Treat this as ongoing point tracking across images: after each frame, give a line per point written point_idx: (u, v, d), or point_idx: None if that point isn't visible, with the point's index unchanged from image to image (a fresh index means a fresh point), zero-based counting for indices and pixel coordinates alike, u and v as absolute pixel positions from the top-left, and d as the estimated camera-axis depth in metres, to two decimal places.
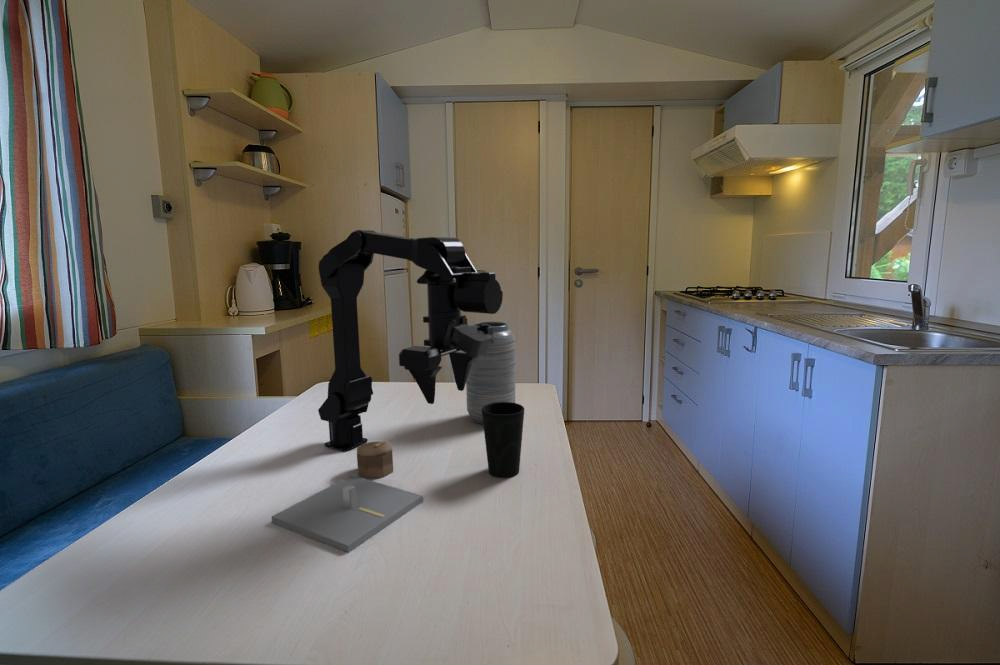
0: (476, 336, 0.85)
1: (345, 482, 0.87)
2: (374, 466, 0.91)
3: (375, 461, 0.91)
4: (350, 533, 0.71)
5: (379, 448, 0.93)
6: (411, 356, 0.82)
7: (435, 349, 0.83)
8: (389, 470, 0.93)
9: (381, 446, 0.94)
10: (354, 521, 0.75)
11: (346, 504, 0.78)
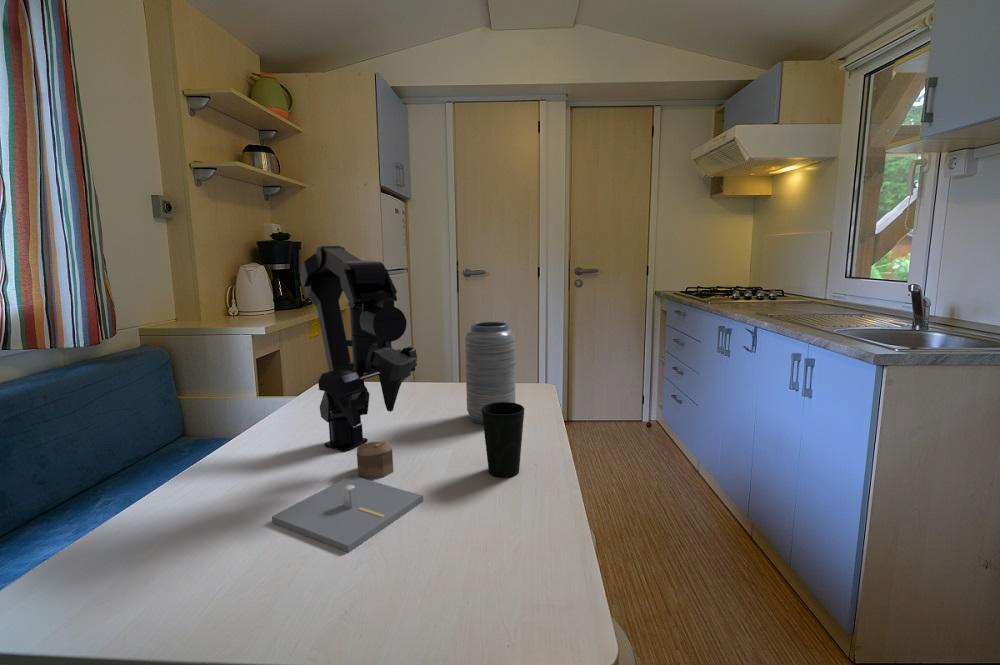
0: (396, 360, 0.86)
1: (345, 482, 0.87)
2: (374, 466, 0.91)
3: (375, 461, 0.91)
4: (350, 533, 0.71)
5: (379, 448, 0.93)
6: (329, 380, 0.83)
7: (354, 373, 0.85)
8: (389, 470, 0.93)
9: (381, 446, 0.94)
10: (354, 521, 0.75)
11: (346, 504, 0.78)
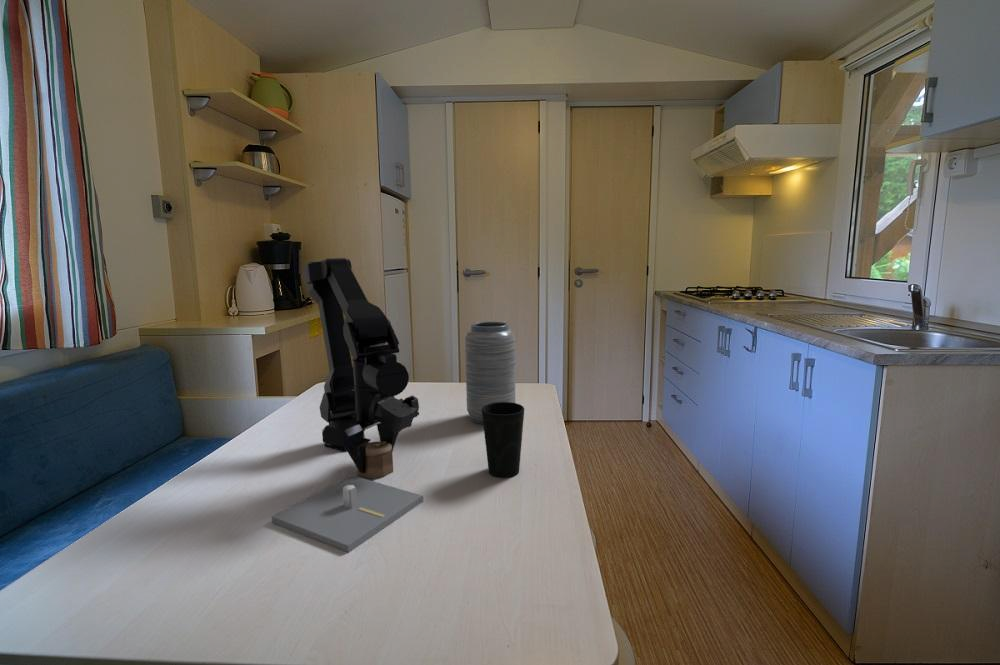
0: (398, 411, 0.88)
1: (345, 482, 0.87)
2: (374, 466, 0.91)
3: (375, 461, 0.91)
4: (350, 533, 0.71)
5: (379, 448, 0.93)
6: (333, 433, 0.84)
7: (357, 425, 0.86)
8: (389, 470, 0.93)
9: (381, 446, 0.94)
10: (354, 521, 0.75)
11: (346, 504, 0.78)
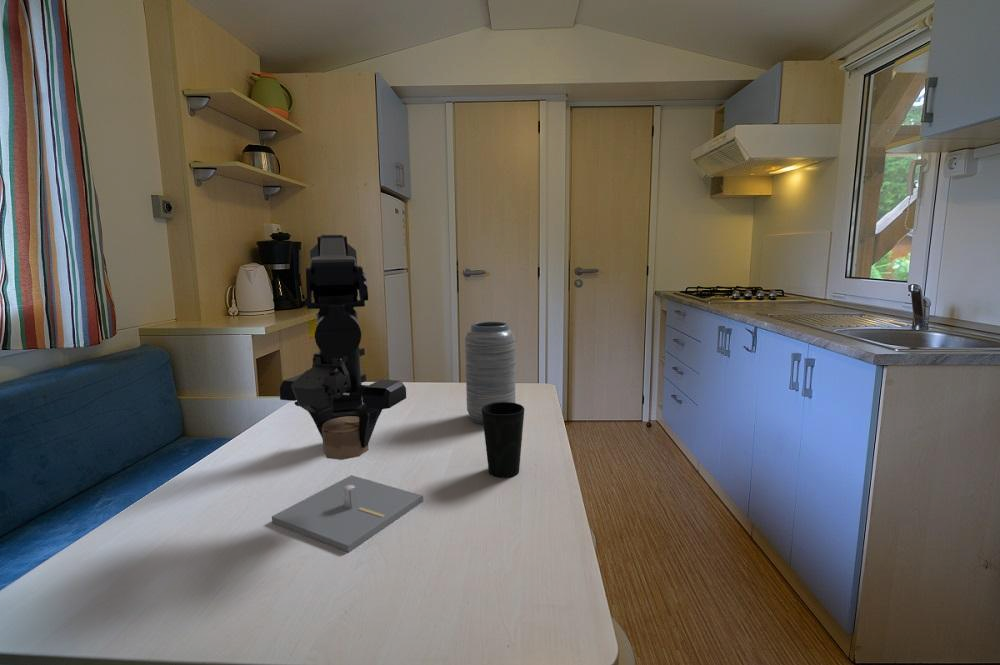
0: (304, 381, 0.69)
1: (345, 482, 0.87)
2: (323, 440, 0.76)
3: (323, 435, 0.76)
4: (350, 533, 0.71)
5: (341, 425, 0.76)
6: None
7: None
8: (335, 455, 0.75)
9: (347, 425, 0.76)
10: (354, 521, 0.75)
11: (346, 504, 0.78)
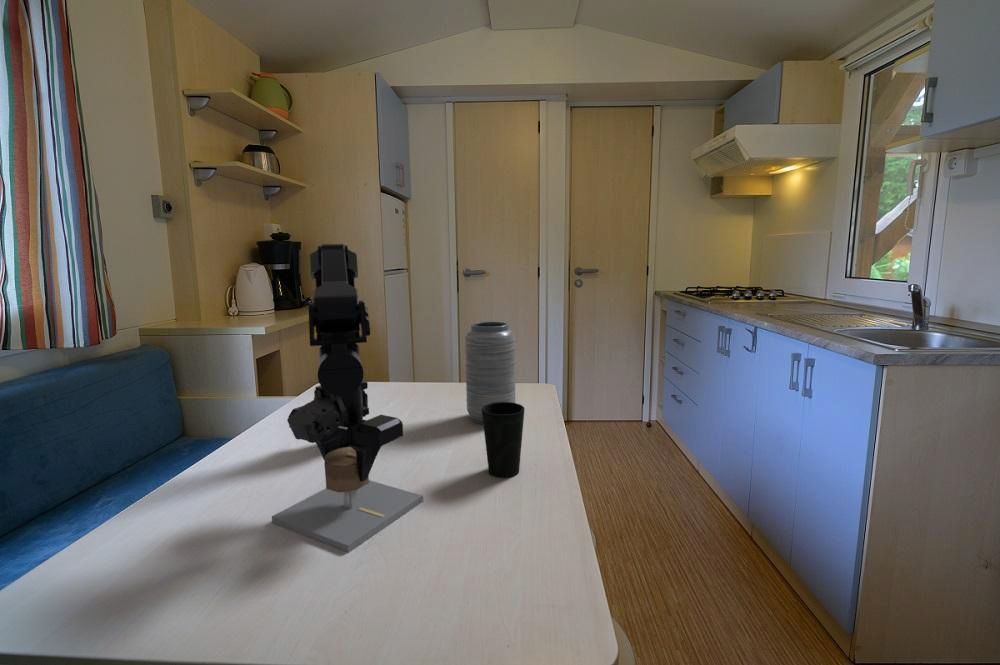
0: (299, 415, 0.71)
1: None
2: None
3: None
4: (350, 533, 0.71)
5: (341, 457, 0.77)
6: None
7: None
8: (333, 487, 0.76)
9: (347, 457, 0.77)
10: (354, 521, 0.75)
11: (346, 504, 0.78)
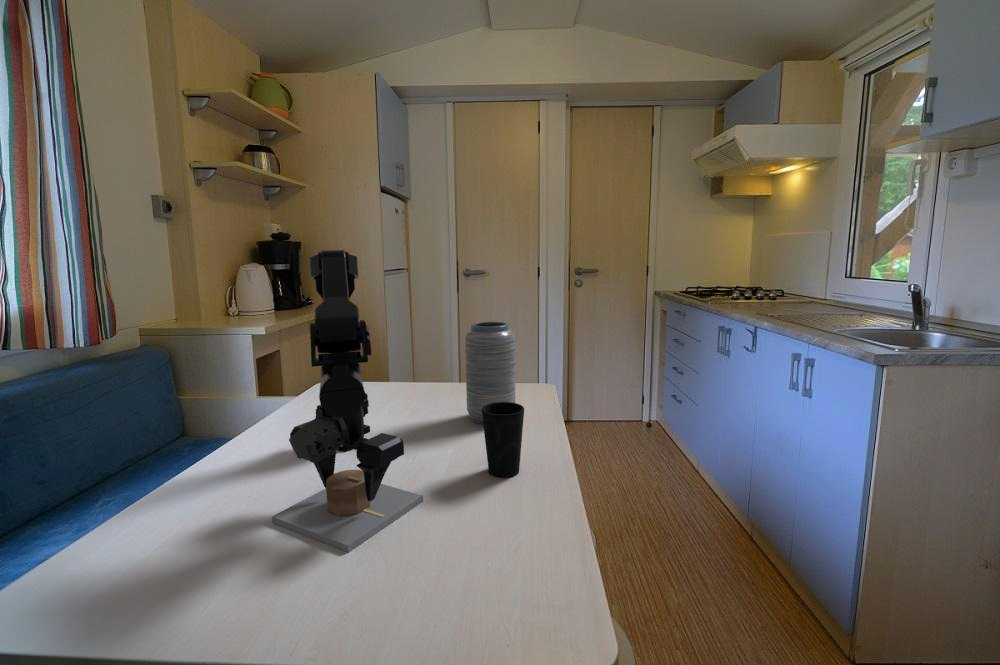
0: (301, 435, 0.72)
1: None
2: None
3: None
4: (350, 533, 0.71)
5: (343, 481, 0.78)
6: None
7: None
8: (335, 510, 0.76)
9: (348, 481, 0.77)
10: (354, 521, 0.75)
11: None
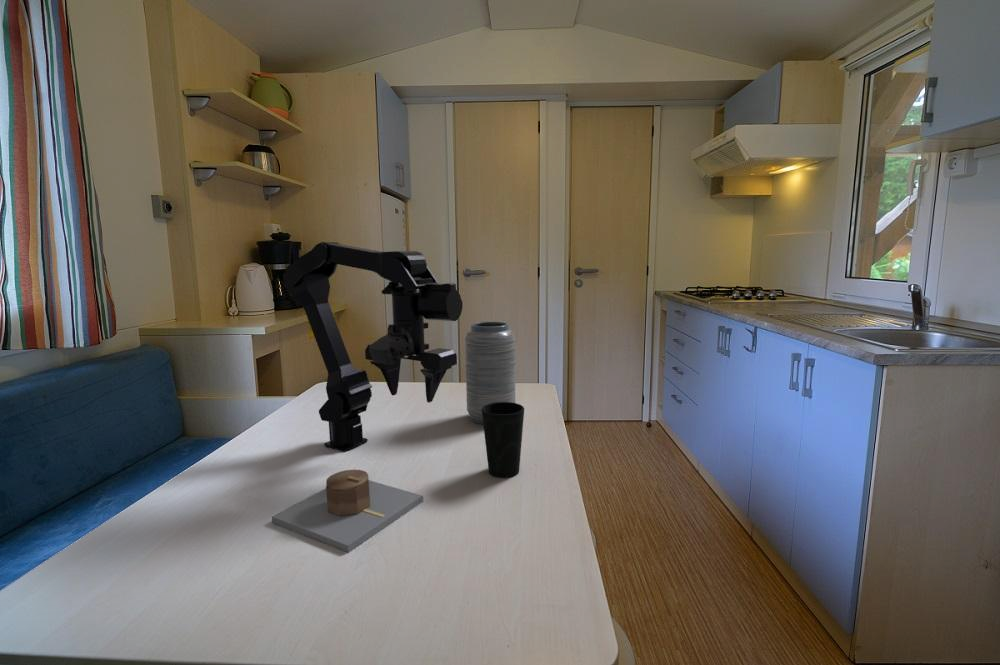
0: (378, 344, 0.91)
1: None
2: None
3: None
4: (350, 533, 0.71)
5: (343, 481, 0.78)
6: None
7: None
8: (335, 510, 0.76)
9: (348, 481, 0.77)
10: (354, 521, 0.75)
11: None
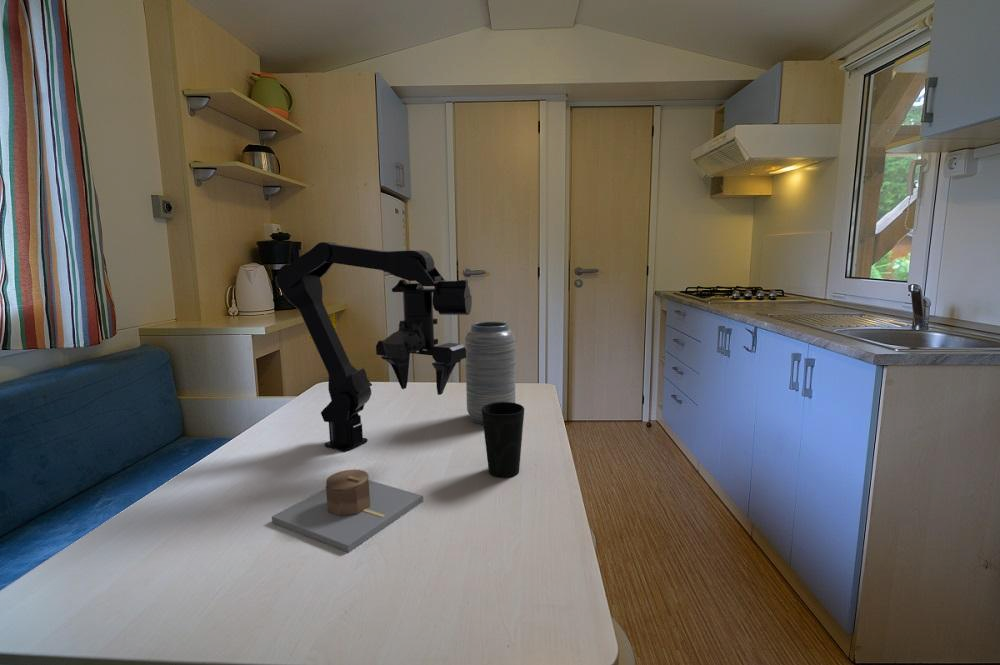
0: (391, 339, 0.95)
1: None
2: None
3: None
4: (350, 533, 0.71)
5: (343, 481, 0.78)
6: None
7: None
8: (335, 510, 0.76)
9: (348, 481, 0.77)
10: (354, 521, 0.75)
11: None
